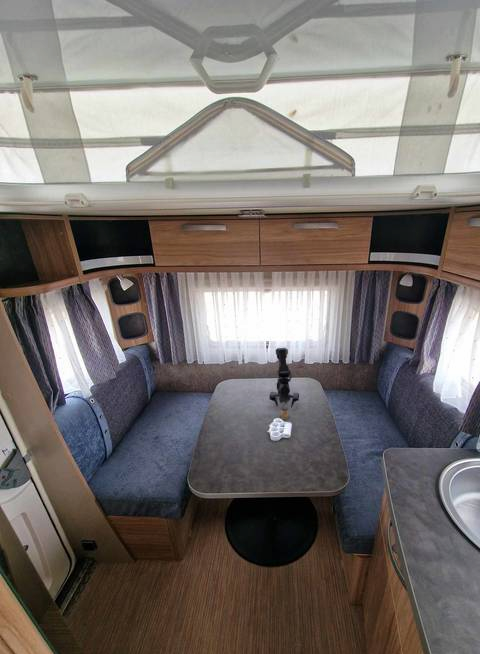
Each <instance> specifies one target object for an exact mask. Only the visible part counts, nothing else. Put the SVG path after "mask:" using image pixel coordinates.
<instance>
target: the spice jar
mask: <svg viewBox="0 0 480 654" xmlns="http://www.w3.org/2000/svg"><path fill="white" fill-rule="evenodd" d="M280 419H282V420H288V419H289V406H288V405H285V404H283V405H281V406H280Z"/></svg>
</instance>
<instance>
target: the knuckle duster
mask: <svg viewBox="0 0 480 654" xmlns="http://www.w3.org/2000/svg"><path fill="white" fill-rule="evenodd" d="M292 426H293V424H292V422H290V421H289V422H288V421H284V419H282V418H281V417H280V418H278V417H276V418H274V419H273V421H272V422H271V423H270V424H269V425H268V427H269V428H268V430H267V431H266V432H267V433H269V437H270V440H271V441H273V442H277V441H280V440H281V439H289V438H291V435H292Z"/></svg>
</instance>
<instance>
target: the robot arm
mask: <svg viewBox="0 0 480 654" xmlns="http://www.w3.org/2000/svg"><path fill="white" fill-rule="evenodd" d="M275 355H276V358H277V360H278V370H277V382H276V390H277V391H270V393H269V399H268V400H269V401H272V402H274V404H275V406H276V408H278V407H279V403H280V404H283V403H284V404H287V403H288V402H289V401H291V405H290V408H291V409H292V408H293V406H294V404H295V403H296V402H298V401H300V392H292V394H290V392H291V390H290V388H291V387H290V382H291V381H292V371H291V370H290V368H289V365H287V358H288V355H289V349H288V348H287V347H277V348H275ZM278 400H279V401H278Z"/></svg>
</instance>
